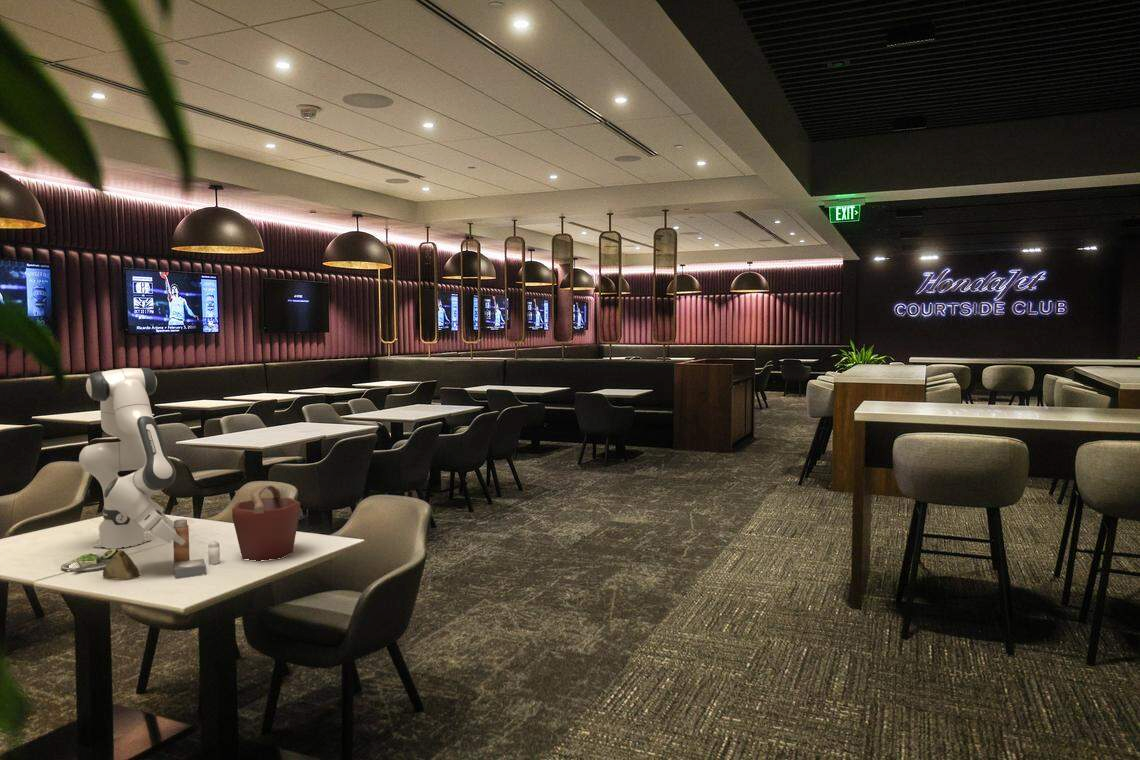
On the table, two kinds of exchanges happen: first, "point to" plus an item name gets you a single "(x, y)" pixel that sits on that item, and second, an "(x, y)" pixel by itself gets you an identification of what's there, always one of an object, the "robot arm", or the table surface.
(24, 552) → the table surface
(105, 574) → the rock
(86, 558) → the plate of avocado toast
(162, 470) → the robot arm
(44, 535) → the table surface
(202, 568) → the plinth
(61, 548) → the table surface
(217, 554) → the salt shaker
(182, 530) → the pepper mill
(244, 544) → the bucket
